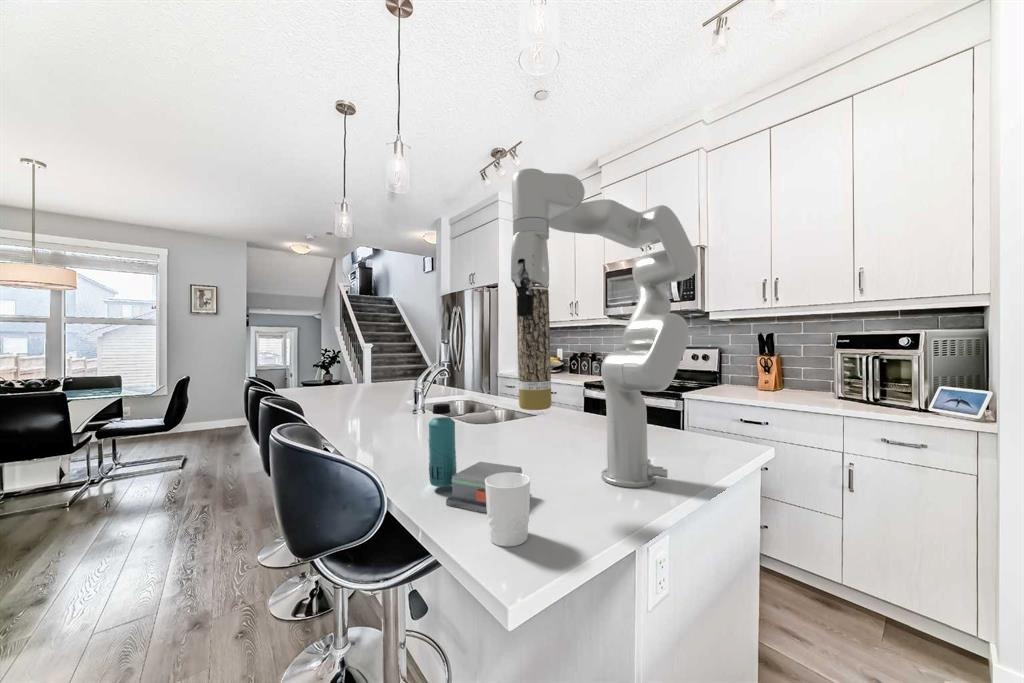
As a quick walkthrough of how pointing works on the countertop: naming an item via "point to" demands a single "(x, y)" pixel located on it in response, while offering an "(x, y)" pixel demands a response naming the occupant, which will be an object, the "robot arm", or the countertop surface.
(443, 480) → the beverage bottle
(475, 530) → the countertop surface
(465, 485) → the stand
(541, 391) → the paper tube
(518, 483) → the white cup
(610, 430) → the robot arm
